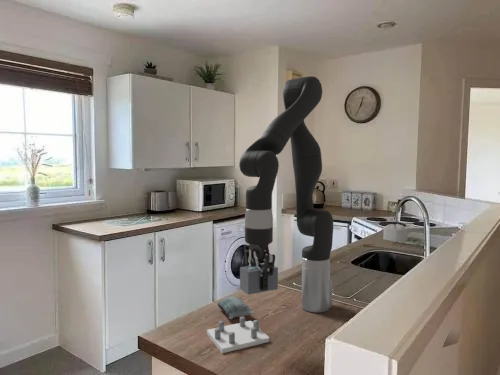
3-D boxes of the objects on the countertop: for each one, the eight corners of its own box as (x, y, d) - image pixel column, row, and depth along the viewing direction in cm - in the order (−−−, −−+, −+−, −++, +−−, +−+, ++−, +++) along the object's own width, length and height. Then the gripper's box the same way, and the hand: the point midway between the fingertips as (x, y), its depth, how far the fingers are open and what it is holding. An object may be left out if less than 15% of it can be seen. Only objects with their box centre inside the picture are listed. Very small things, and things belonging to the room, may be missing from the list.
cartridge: (268, 283, 110) (268, 262, 109) (277, 289, 105) (277, 267, 105) (240, 288, 106) (240, 266, 105) (248, 294, 101) (248, 271, 101)
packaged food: (241, 305, 132) (240, 291, 132) (254, 319, 121) (254, 304, 121) (216, 310, 129) (216, 295, 128) (228, 324, 118) (228, 309, 117)
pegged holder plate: (250, 324, 117) (250, 312, 117) (269, 341, 106) (269, 328, 106) (207, 333, 111) (206, 321, 111) (221, 353, 101) (221, 339, 100)
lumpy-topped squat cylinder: (388, 236, 236) (388, 222, 235) (410, 239, 228) (410, 225, 227) (381, 239, 228) (381, 224, 228) (403, 242, 220) (404, 227, 219)
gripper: (284, 228, 99) (284, 292, 101) (258, 220, 112) (258, 277, 113) (259, 231, 96) (259, 297, 97) (234, 222, 109) (235, 281, 110)
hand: (258, 286), depth 105 cm, fingers closed on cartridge, 5 cm apart
